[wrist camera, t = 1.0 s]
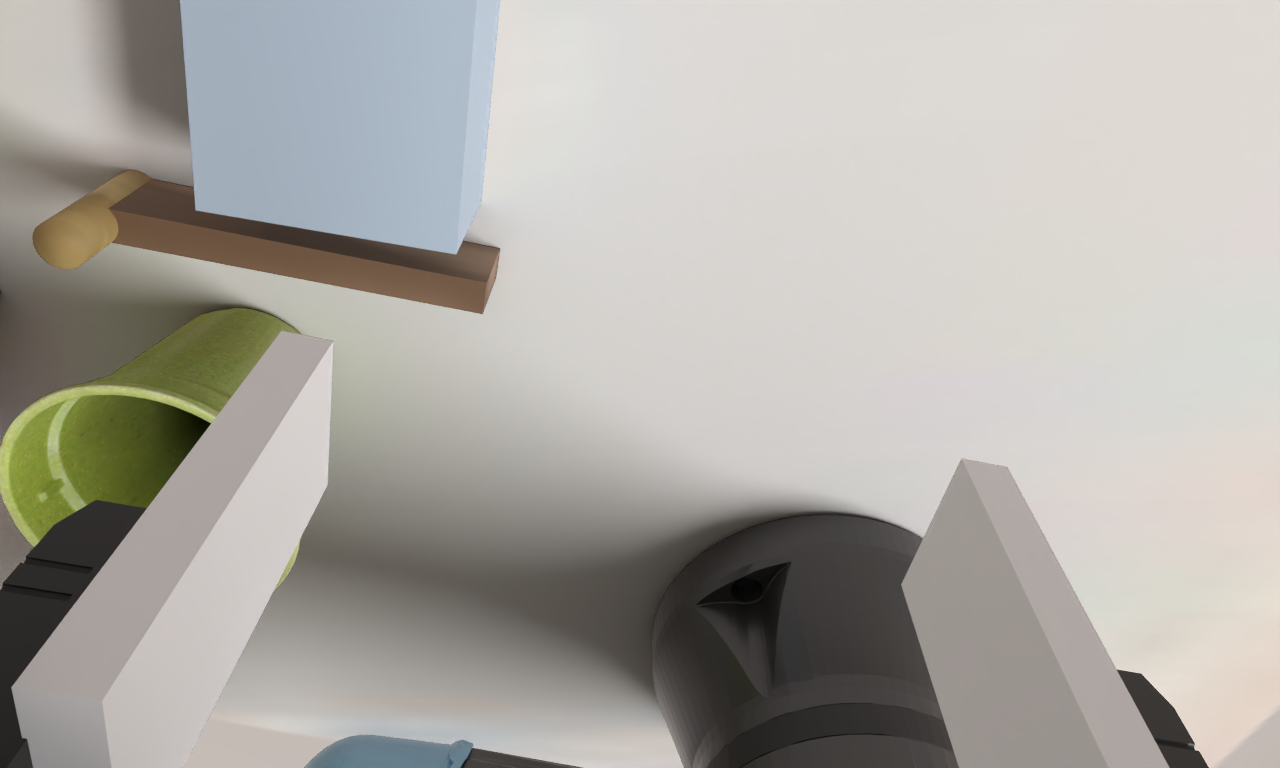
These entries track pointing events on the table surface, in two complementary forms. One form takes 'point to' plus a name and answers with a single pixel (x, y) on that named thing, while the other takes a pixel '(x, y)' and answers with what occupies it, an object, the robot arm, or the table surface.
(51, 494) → the plant pot
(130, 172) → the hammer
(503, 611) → the table surface
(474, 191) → the block
